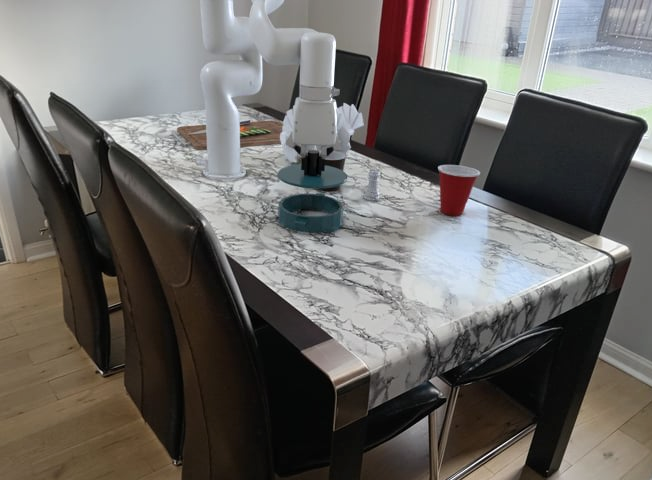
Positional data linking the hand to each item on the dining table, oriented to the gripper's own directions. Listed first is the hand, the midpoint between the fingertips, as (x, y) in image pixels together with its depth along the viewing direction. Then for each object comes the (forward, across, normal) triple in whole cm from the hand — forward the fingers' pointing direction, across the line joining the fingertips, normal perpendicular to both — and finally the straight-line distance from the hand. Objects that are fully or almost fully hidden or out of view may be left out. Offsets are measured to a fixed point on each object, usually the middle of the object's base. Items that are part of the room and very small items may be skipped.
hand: (312, 172), depth 137 cm
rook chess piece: (+13, -16, -19) cm, 28 cm away
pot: (+13, 0, 0) cm, 13 cm away
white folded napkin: (+13, -1, -52) cm, 54 cm away
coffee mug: (+13, -5, -26) cm, 29 cm away
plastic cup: (+13, -38, -12) cm, 41 cm away
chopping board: (+12, +28, -76) cm, 82 cm away
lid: (+1, 0, 0) cm, 1 cm away
